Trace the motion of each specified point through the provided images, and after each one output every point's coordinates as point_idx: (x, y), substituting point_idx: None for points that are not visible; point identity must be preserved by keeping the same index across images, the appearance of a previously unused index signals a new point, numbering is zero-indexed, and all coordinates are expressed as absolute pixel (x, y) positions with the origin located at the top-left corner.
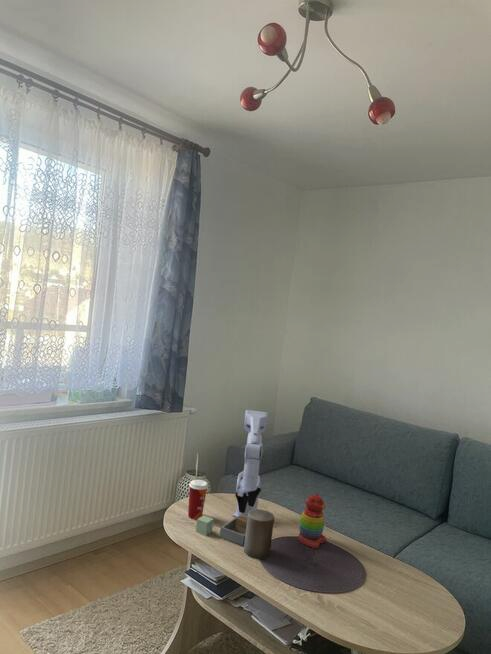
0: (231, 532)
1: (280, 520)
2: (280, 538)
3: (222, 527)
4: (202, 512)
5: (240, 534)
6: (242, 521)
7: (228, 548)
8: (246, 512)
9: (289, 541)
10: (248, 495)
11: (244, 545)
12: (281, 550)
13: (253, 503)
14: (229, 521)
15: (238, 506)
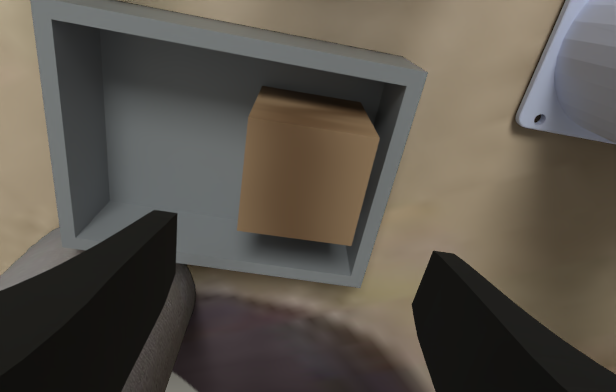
0: (54, 130)
1: (608, 300)
2: (355, 346)
3: (42, 16)
4: None
5: (62, 217)
6: (243, 186)
7: (2, 128)
8: (590, 103)
9: (346, 382)
10: (515, 346)
11: (34, 247)
12: (225, 373)
13: (425, 344)
14: (230, 35)
15: (107, 238)
